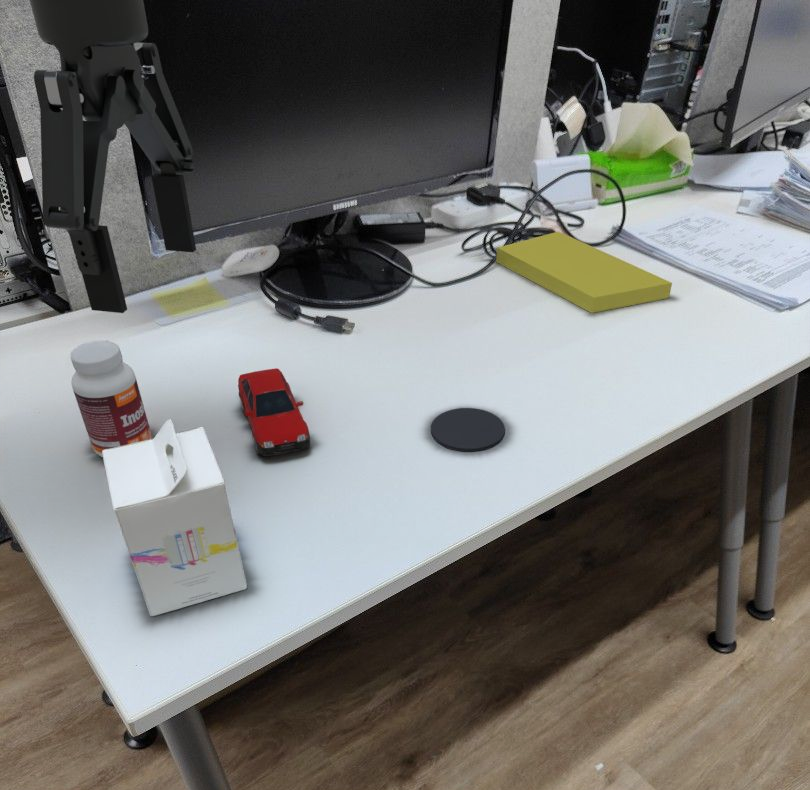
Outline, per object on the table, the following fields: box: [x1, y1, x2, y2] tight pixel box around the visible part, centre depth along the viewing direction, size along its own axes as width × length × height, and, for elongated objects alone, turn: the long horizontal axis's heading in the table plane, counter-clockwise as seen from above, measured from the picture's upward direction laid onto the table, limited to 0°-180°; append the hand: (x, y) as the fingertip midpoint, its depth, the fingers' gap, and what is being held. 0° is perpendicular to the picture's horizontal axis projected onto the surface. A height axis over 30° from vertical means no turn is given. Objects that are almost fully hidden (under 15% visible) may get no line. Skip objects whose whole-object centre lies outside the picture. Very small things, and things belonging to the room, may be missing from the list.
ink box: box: [102, 418, 248, 617], centre depth 62 cm, size 9×8×13 cm
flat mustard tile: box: [495, 231, 673, 314], centre depth 111 cm, size 12×2×24 cm
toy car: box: [237, 367, 311, 457], centre depth 83 cm, size 6×14×5 cm, turn 19°
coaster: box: [430, 407, 506, 453], centre depth 83 cm, size 8×8×1 cm
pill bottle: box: [69, 340, 152, 458], centre depth 78 cm, size 6×6×11 cm
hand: (148, 278), depth 66 cm, fingers open, 13 cm apart
